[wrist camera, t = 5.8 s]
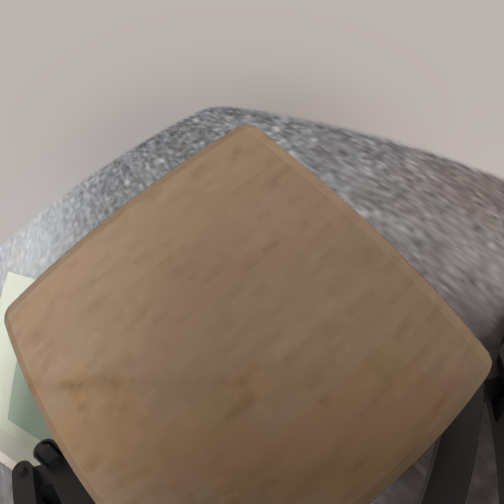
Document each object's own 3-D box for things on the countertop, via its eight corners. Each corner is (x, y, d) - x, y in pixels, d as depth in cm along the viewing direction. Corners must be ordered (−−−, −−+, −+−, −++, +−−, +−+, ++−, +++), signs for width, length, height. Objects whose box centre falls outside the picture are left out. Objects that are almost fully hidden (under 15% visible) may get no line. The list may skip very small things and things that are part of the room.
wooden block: (350, 384, 24) (504, 360, 6) (254, 461, 22) (187, 607, 4) (271, 296, 28) (248, 113, 9) (179, 369, 26) (-6, 311, 7)
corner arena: (142, 309, 28) (118, 293, 23) (106, 498, 21) (78, 512, 16) (11, 273, 31) (-16, 257, 26) (-19, 420, 24) (-49, 418, 19)
